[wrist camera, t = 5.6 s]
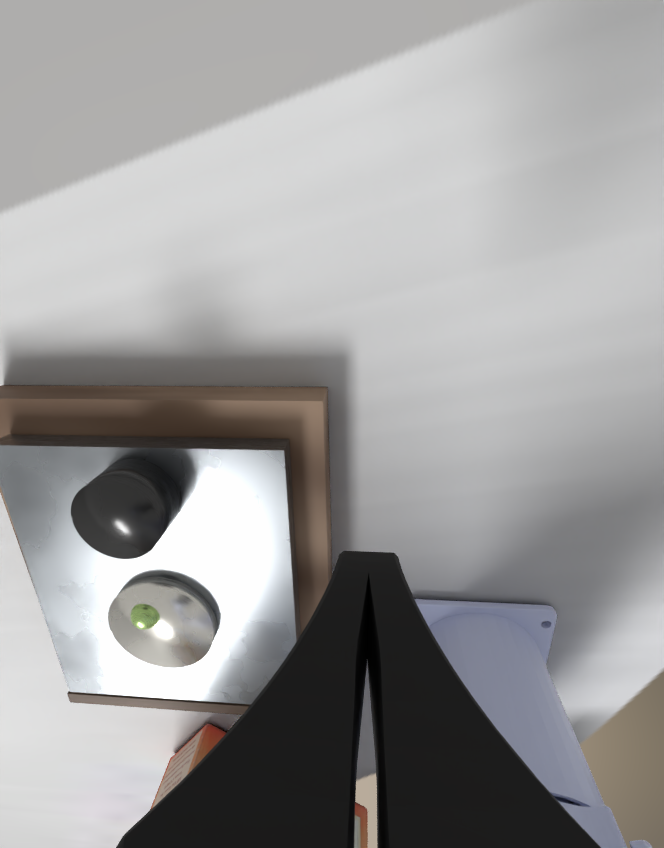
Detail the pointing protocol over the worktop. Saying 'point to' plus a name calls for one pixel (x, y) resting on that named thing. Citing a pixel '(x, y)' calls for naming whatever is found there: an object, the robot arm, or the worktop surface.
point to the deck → (159, 559)
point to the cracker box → (200, 748)
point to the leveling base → (208, 418)
